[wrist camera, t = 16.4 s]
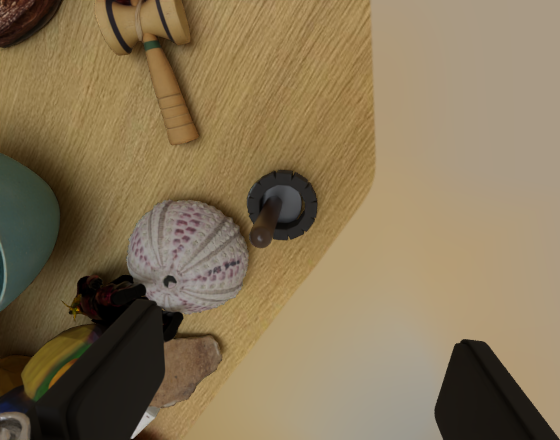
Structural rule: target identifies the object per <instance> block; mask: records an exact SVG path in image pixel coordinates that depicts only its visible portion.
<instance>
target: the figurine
mask: <svg viewBox="0 0 560 440" xmlns="http://www.w3.org/2000/svg"><path fill="white" fill-rule="evenodd" d="M109 327H110V326H109V325H104V324H99V323H97V324H87V325H80V326H76V327H72V328H70V329H68V330H65V331H63V332H62V333H60V334H59V335H57V336H56V337H54V338H53V339H51V340H50V341H49V342H47V343H46V344H45V345H44V346H43V347H42V348H41V349H40V350H39V351H38V352H37V353H36V354H35V355H34V356H33V357H32V359H31V360H30V361H29V362H28V363H27V365H26V366H25V368H24V370H23V372H22V373H21V377H22V381H23V385H21V386H17V387H15V388H13V389H12V390H10V391H9V392H7V393H5V394H4V395H2V396H0V413H4V412H20V413H24V414H25V413H26V412H27V411H28V410H29V409H30V408H31V407H32V406H33V405H34V404H35V403H36V402H37V401H38V400H39V399H40V398H41V397H42V396H43V395H44V394H45V392H46V391H47V390H48V389H49V388H50V387H51V386H52V385H53V384H54V383H55V382H56V381H57V380H58V379H59V378H60V377H61V376H62V375H63V374H64V373H65V372H66V371H67V370H68V369H69V368H70V367H71V365H72V364H73V363H74V362H75V361H76V360H77V359H78V358H79V357H80V356H81V355H82V354H83V353H84V352H85V351H86V350H87V349H88V348H89V347H90V346H91V345H92V344H93V343H94V342H95V341H96V340H97V339H98V338H100V336H101V335H102V334H103V333H104V332H105V331H106V330H107V329H108V328H109Z"/></svg>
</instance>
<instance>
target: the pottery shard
mask: <svg viewBox="0 0 560 440" xmlns="http://www.w3.org/2000/svg"><path fill="white" fill-rule="evenodd" d="M164 356H165V376H164V379H163V381H162V383H161V385H160V387H159V389H158V391H157V392H156V394H155V396H154V398H153V399H152V401H151V403H150V405H149V407H151V406H153V407H157V408H164V407H170V406H174V405H175V404H176V403H177V402H181V401H184V400H188V399H189V397H190V396H191V394H192V393H193V392H194V391H195V388H196V386H197V385H198V384H199V383H200V382H201V381H202V380H203V379H204V378H205V377H206V376H208V375H210V374H211V373H213V372H214V371H215V370H217V367H218V364H219V363H220V362H221V361H222V355H221V352H220V349H219V345H218V343H217V342H216V340H215V339H214V338H213V336H212V335H206V336H201V337H188V338H180V339H178V338H177V339H172V340H170V341H168V342H164Z"/></svg>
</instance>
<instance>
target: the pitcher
mask: <svg viewBox="0 0 560 440" xmlns="http://www.w3.org/2000/svg"><path fill="white" fill-rule="evenodd" d="M31 359H32V357H29V356H20V355H18V356H17V355H14V356H13V355H11V356H7V357H6V358H1V359H0V396H2V395H4V394H5V393H7V392H9V391H10V390H12V389H13V388H15V387H17V386H21V385H23V381H22V377H21V373H22V372H23V370H24V368H25V366H26V365H27V363H28V362H29V361H30V360H31Z"/></svg>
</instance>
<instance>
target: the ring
mask: <svg viewBox="0 0 560 440" xmlns="http://www.w3.org/2000/svg"><path fill="white" fill-rule="evenodd" d="M276 185H284V186H291V187H292V188H294V189H295V190H297V191H298V192H300V194H301V196H302V198H303V200H304V202H305V210H304V211H303V213H302V214H301V216H300V217H299V218H298V219H297V220H294V221H292V222H290V223H277V225H276V228H275V231H274V234H273V239H276V240H288V236H289V238H290V239H291V240H292V239H294V238H296V237H298V236H301V235H303V234H304V231H305V232H307V231H308V229H309V228H310V227H311V225H312V224H313V222H314V221H315V218H316V213H317V198H316V193H315V191H314V189H313V187H312V185H311V183H310V182H309V183H308V180H307V179H306V178H305V177H303V176H302V175H300V174H298V173H297V172H295V173H294V175H293V171H291V170H278V171H277V173H276V171H273V172H271V173H269V174H267V175H265V176H263V177H262V178H261V179H259V181H258V182H257V183H256V185H255V186H254V188H253V190H252V191H251V193H250V194H249V195H250V197H249V198H248V213H250V215H249V217H250V219H251V221H252V222H253V224H255V222H256V220H257V218H258V216H259V214H260V212H261V210H262V208H263V207H262V200H263V195H264V193H265V192H266V190H268V189H270V188H272V187H274V186H276Z"/></svg>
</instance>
